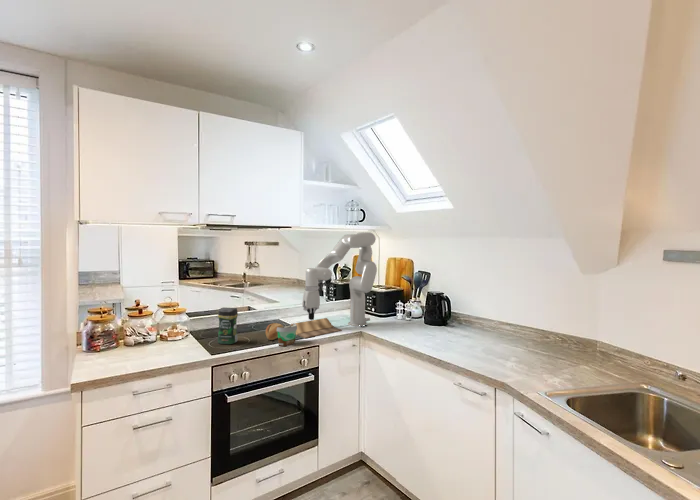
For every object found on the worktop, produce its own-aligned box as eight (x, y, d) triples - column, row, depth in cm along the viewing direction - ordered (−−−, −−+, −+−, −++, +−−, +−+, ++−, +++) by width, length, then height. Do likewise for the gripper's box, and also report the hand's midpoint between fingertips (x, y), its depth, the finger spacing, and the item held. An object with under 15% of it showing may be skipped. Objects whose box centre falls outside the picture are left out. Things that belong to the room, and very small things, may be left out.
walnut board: (333, 329, 219) (333, 327, 219) (341, 332, 213) (341, 329, 213) (297, 336, 202) (297, 334, 202) (305, 339, 196) (305, 337, 196)
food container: (284, 349, 179) (284, 329, 179) (276, 346, 183) (276, 327, 183) (302, 343, 189) (302, 324, 189) (293, 341, 193) (294, 323, 192)
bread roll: (261, 341, 193) (261, 326, 193) (271, 334, 208) (271, 320, 207) (278, 342, 191) (278, 327, 191) (287, 334, 206) (287, 321, 206)
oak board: (326, 319, 225) (326, 317, 224) (332, 328, 220) (333, 326, 219) (290, 325, 208) (291, 323, 207) (296, 335, 203) (297, 333, 202)
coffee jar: (215, 344, 186) (215, 308, 185) (222, 340, 193) (222, 305, 193) (233, 345, 184) (233, 309, 184) (239, 340, 192) (239, 306, 192)
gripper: (318, 287, 221) (317, 316, 222) (297, 289, 212) (297, 319, 212) (325, 288, 216) (325, 318, 216) (304, 290, 206) (304, 322, 206)
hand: (311, 319), depth 214 cm, fingers closed
